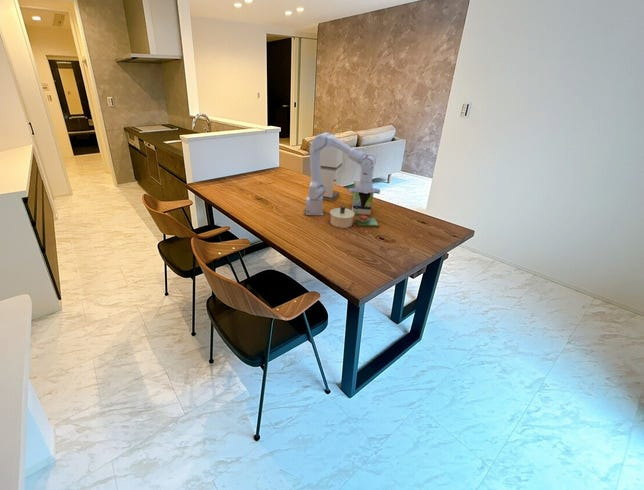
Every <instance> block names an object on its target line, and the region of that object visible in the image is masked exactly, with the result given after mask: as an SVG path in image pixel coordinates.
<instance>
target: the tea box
mask: <svg viewBox="0 0 644 490" xmlns="http://www.w3.org/2000/svg"><path fill="white" fill-rule="evenodd" d="M359 183H360V180H354V181H353V188H359ZM371 188H374V186H373V184H372V185H371ZM374 194H375V193H370V197H369V199H368V200H367V202H366V204H365V206H364V207H361V201H360V197H359V194H358V193H352V196H351V210H352V211H353V212H354V213H355V215H360V216H361V215H365V216H371V211H372V205H373V199H374Z"/></svg>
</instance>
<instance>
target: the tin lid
mask: <svg viewBox="0 0 644 490" xmlns="http://www.w3.org/2000/svg"><path fill="white" fill-rule="evenodd" d="M329 214H330V216H331V215H332V216H333V217H336V218H340V219H348V218H352V217H353V218H354V217H355V215H356V214H355V213H354V212H353V211H352V209H349V208H347V207H346V206H345V205H340V207H335V208H332V209H330V211H329Z"/></svg>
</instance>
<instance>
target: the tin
mask: <svg viewBox="0 0 644 490" xmlns="http://www.w3.org/2000/svg"><path fill="white" fill-rule="evenodd" d="M329 223H330V225H332V227H333V226H334V227H335V228H340V229H341V228H342V229H346V228H350V227H352V226H353V224H354V217H352V218H348V219H340V218H336V217H333V216H332V215H331V214H330V220H329Z"/></svg>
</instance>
